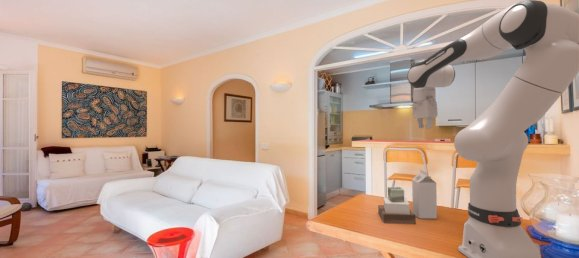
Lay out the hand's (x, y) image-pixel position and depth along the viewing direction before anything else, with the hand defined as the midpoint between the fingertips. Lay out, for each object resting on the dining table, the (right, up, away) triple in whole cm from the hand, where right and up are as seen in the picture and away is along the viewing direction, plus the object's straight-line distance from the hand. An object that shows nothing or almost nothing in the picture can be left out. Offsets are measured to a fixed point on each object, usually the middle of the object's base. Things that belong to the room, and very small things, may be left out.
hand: (424, 128), depth 117 cm
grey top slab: (-16, -34, -8) cm, 39 cm away
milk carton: (-3, -38, -6) cm, 38 cm away
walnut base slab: (-16, -38, -7) cm, 42 cm away
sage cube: (-16, -30, -8) cm, 35 cm away
